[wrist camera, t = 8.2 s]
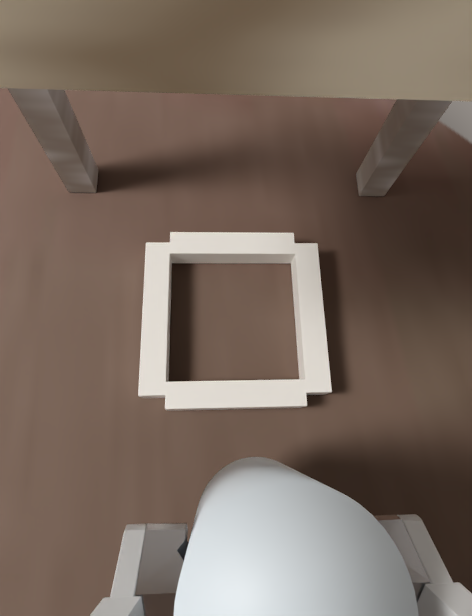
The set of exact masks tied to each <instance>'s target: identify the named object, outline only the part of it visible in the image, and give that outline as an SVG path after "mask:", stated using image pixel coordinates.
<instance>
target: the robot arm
mask: <svg viewBox="0 0 472 616" xmlns="http://www.w3.org/2000/svg"><path fill="white" fill-rule="evenodd" d="M374 517H375V518H376V519H377V521H378V522H379V523H380V524H381V525H382V526H383V527H384V528H385V530H386V531H387V533H388V534H389V535H390V537H391V538H392V540H393V541H394V543H395V545H396V546H397V548H398V550H399V552H400V553H401V555H402V557H403V560H404V562H405V564H406V567H407V569H408V571H409V574H410V577H411V581H412V584H413V587H414V590H415V595H416V601H417V606H418V614H419V616H472V593H471V592H470V591H469V590H467V589H466V588H465V587H464V586H463V585H462V584H461V583H460V582H453V581H452V579H451V577H450V575H449V573H448V571H447V569H446V567H445V565H444V563H443V561H442V559H441V557H440V555H439V553H438V551H437V549H436V547H435V545H434V543H433V541H432V539H431V537H430V535H429V533H428V531H427V529H426V527H425V525H424V523H423V521H422V519H421V518H420V517H419V516H418V515H415V514H407V515H378V516H374ZM187 533H188V530H187V523H162V524H127V526H126V528H125V531H124V534H123V539H122V543H121V548H120V553H119V558H118V562H117V567H116V572H115V576H114V581H113V586H112V590H111V595H110V597H104V598H103V599H102V601H101V602H100V603H99V604H98V606H97V607H96V608H95V610H94V611H93V612H92V613H91V615H90V616H174V603H175V597H176V591H177V586H178V581H179V577H180V574H181V570H182V566H183V562H184V558H185V554H186V550H187V547H188V541H187Z"/></svg>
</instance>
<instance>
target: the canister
mask: <svg viewBox="0 0 472 616" xmlns="http://www.w3.org/2000/svg"><path fill="white" fill-rule="evenodd" d="M174 616H419V614H418V606H417V601H416V595H415V590H414V587H413V584H412V581H411V577H410V574H409V571H408V569H407V567H406V564H405V562H404V560H403V557H402V555H401V553H400V552H399V550H398V548H397V546H396V545H395V543H394V541H393V540H392V538H391V537H390V535H389V534H388V533H387V531H386V530H385V528H384V527H383V526H382V525H381V524H380V523H379V522H378V521H377V519H376V518H375V517H374V516H373V515H372V514H371V513H370V512H368V511H367V510H366V509H365V508H364V507H363V506H361V505H360V504H359V503H357V502H356V501H354V500H353V499H351V498H350V497H348V496H347V495H345V494H343V493H341V492H339V491H337V490H335V489H333V488H331V487H329V486H327V485H324V484H322V483H320V482H318V481H316V480H314V479H312V478H310V477H308V476H306V475H304V474H302V473H300V472H298V471H296V470H294V469H292V468H290V467H288V466H286V465H284V464H282V463H280V462H278V461H276V460H273V459H269V458H264V457H248V458H243V459H239V460H237V461H234V462H232V463H230V464H228V465H227V466H225V467H224V468H222V469H221V470H220V471H219V472H218V473H217V474H215V475H214V476H213V478H212V479H211V480H210V482H209V483H208V484H207V486H206V488H205V489H204V491H203V494H202V496H201V498H200V501H199V505H198V508H197V512H196V516H195V520H194V524H193V527H192V531H191V535H190V539H189V543H188V547H187V550H186V554H185V558H184V562H183V566H182V570H181V574H180V577H179V581H178V586H177V591H176V597H175V603H174Z"/></svg>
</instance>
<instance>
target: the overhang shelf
mask: <svg viewBox="0 0 472 616" xmlns="http://www.w3.org/2000/svg"><path fill="white" fill-rule="evenodd" d="M0 88H8V90H9V92H10V93H11V95H12V97H13V98H14V100H15V102H16V104H17V105H18V107H19V109H20V110H21V112H22V114H23V115H24V117H25V119H26V120H27V122H28V124H29V126H30V127H31V129H32V131H33V132H34V134H35V136H36V137H37V139H38V141H39V143H40V144H41V146H42V148H43V149H44V151H45V153H46V154H47V156H48V158H49V160H50V161H51V163H52V165H53V166H54V168H55V170H56V171H57V173H58V175H59V177H60V178H61V180H62V182H63V183H64V185H65V187H66V188H67V190H68V192H83V193H96V190H97V180H98V168H97V165H96V163H95V161H94V158H93V156H92V154H91V151H90V149H89V147H88V144H87V142H86V140H85V137H84V135H83V133H82V130H81V128H80V126H79V123H78V121H77V119H76V116H75V114H74V112H73V109H72V107H71V104H70V102H69V100H68V97H67V95H66V93H65V90H88V91H124V92H159V93H194V94H229V95H265V96H300V97H335V98H370V99H397V100H396V102H395V104H394V106H393V108H392V109H391V111H390V113H389V115H388V117H387V119H386V120H385V122H384V124H383V126H382V128H381V129H380V131H379V133H378V135H377V137H376V139H375V140H374V142H373V144H372V146H371V148H370V149H369V151H368V153H367V155H366V157H365V159H364V160H363V162H362V164H361V166H360V168H359V169H358V171H357V173H356V178H357V185H358V193H359V196H385V194H386V193H387V191H388V190H389V189H390V187H391V186H392V185H393V183H394V182H395V180H396V179H397V178H398V176H399V175H400V173H401V172H402V171H403V169H404V168H405V166H406V165H407V164H408V162H409V161H410V159H411V158H412V157H413V155H414V154H415V152H416V151H417V150H418V148H419V147H420V146H421V144H422V143H423V141H424V140H425V139H426V137H427V136H428V134H429V133H430V132H431V130H432V129H433V127H434V126H435V125H436V123H437V122H438V120H439V119H440V117H441V116H442V115H443V113H444V112H445V110H446V109H447V108H448V106H449V105H450V104H451V102H452V101H472V0H0Z"/></svg>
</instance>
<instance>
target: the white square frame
mask: <svg viewBox="0 0 472 616" xmlns="http://www.w3.org/2000/svg"><path fill="white" fill-rule="evenodd" d="M172 263H291V271H292V285H293V299H294V312H295V326H296V340H297V353H298V367H299V379H296V380H238V381H179V382H169V350H170V314H171V278H172ZM331 392H332V388H331V378H330V368H329V357H328V347H327V337H326V327H325V316H324V306H323V296H322V286H321V275H320V265H319V255H318V245H317V243H294V233H230V232H170V243H146V252H145V272H144V292H143V311H142V331H141V351H140V371H139V390H138V396H140V397H141V398H165V409H166V410H168V411H175V410H221V409H267V408H302V407H306V406H307V397H306V395H325V394H328V393H331Z"/></svg>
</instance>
